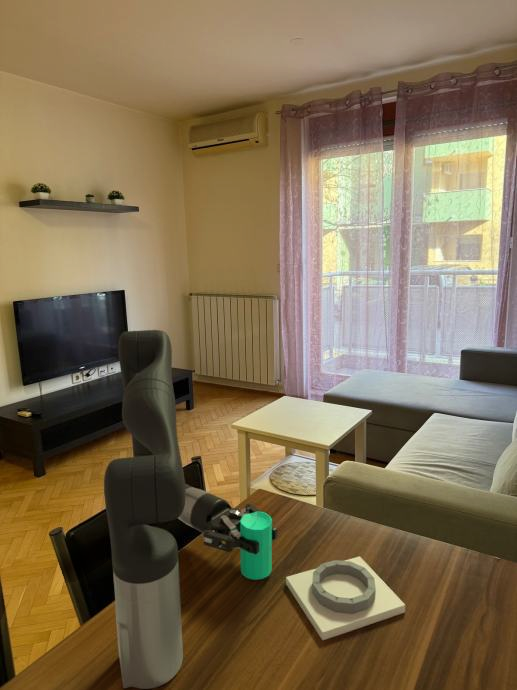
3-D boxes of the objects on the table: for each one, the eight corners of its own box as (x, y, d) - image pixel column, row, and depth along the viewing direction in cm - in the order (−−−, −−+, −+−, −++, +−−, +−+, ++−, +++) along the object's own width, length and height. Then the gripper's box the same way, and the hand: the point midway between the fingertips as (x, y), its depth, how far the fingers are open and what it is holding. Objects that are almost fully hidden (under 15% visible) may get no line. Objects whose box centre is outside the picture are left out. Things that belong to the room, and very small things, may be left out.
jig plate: (322, 640, 77) (322, 621, 76) (286, 584, 89) (286, 567, 89) (404, 612, 82) (405, 594, 82) (359, 563, 95) (360, 547, 94)
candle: (272, 560, 95) (273, 504, 92) (270, 580, 89) (270, 522, 86) (242, 558, 95) (242, 503, 93) (238, 578, 89) (237, 520, 87)
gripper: (175, 508, 93) (242, 541, 83) (225, 481, 104) (289, 507, 94) (177, 543, 95) (242, 580, 84) (225, 512, 106) (289, 541, 95)
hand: (267, 541), depth 89 cm, fingers closed on candle, 5 cm apart
